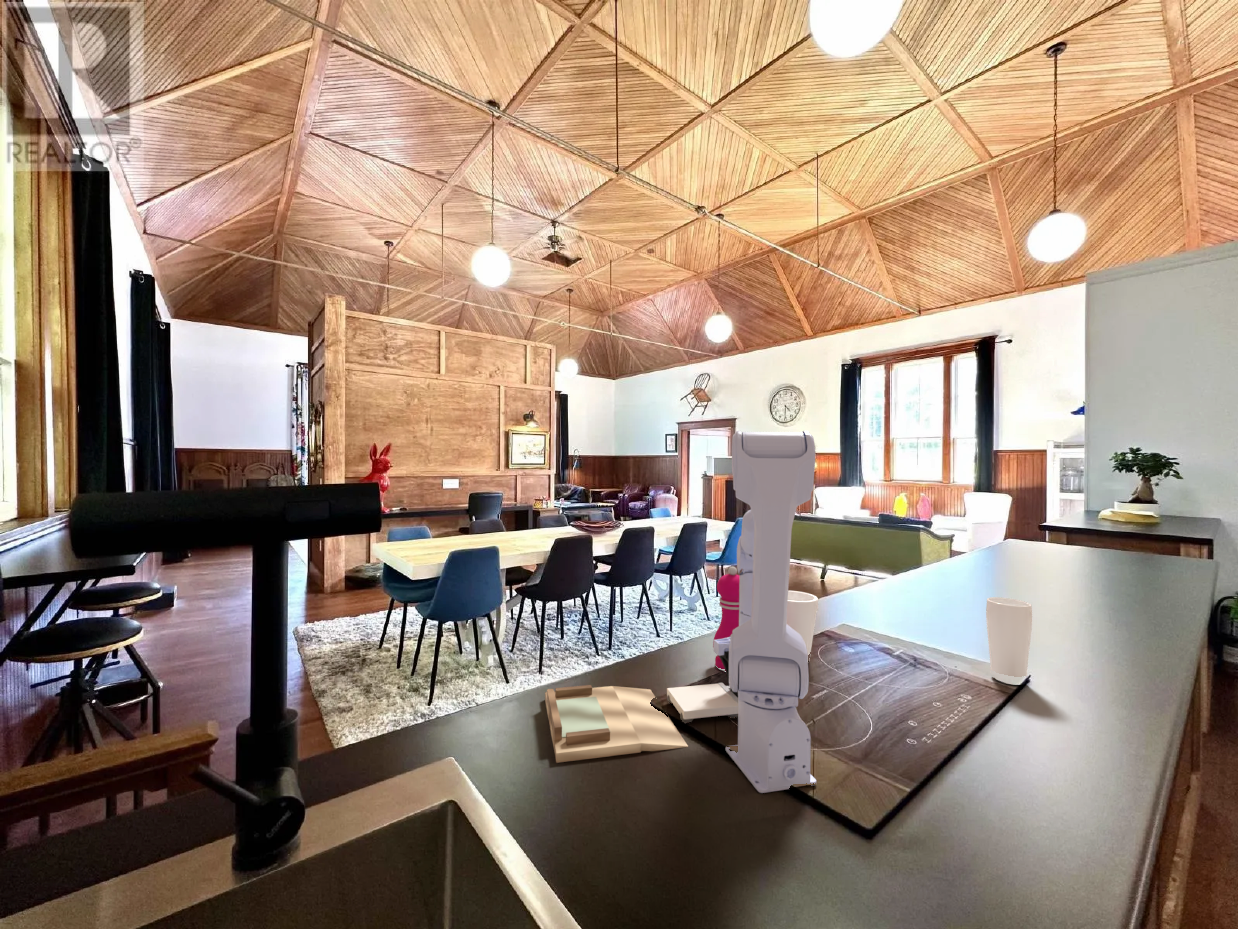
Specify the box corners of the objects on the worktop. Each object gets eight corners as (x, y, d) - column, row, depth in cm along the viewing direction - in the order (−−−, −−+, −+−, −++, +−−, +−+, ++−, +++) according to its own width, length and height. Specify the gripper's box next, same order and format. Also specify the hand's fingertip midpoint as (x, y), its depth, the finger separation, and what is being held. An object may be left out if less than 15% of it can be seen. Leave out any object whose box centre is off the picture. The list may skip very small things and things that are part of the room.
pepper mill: (751, 677, 92) (752, 571, 92) (712, 673, 93) (713, 569, 93) (749, 662, 99) (750, 564, 99) (712, 659, 100) (714, 562, 100)
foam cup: (809, 671, 95) (809, 604, 95) (762, 659, 100) (763, 596, 100) (822, 657, 102) (823, 595, 102) (778, 647, 108) (779, 588, 108)
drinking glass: (1041, 689, 88) (1042, 607, 88) (1003, 688, 88) (1004, 606, 89) (1012, 674, 95) (1012, 597, 95) (977, 673, 95) (977, 596, 95)
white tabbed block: (751, 719, 76) (751, 703, 76) (682, 727, 73) (682, 711, 73) (728, 696, 84) (728, 682, 84) (665, 702, 81) (665, 687, 81)
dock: (688, 753, 68) (688, 724, 68) (556, 770, 64) (556, 739, 64) (650, 695, 86) (650, 672, 86) (544, 705, 81) (545, 681, 81)
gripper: (782, 603, 86) (781, 680, 86) (706, 607, 83) (705, 687, 83) (806, 615, 79) (805, 699, 79) (724, 620, 76) (723, 707, 76)
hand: (755, 694), depth 81 cm, fingers open, 7 cm apart
